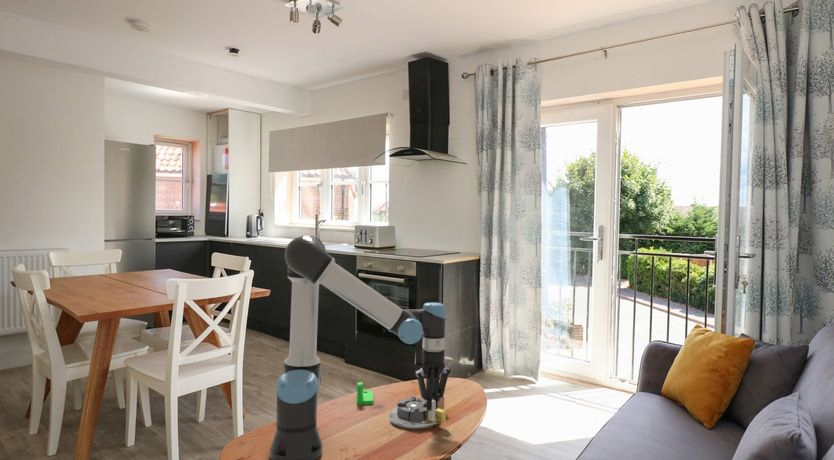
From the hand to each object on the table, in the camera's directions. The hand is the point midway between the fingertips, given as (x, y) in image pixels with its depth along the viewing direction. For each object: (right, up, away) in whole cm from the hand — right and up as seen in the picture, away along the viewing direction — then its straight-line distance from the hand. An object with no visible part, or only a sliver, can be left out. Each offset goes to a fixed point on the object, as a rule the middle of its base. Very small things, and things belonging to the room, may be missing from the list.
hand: (431, 419), depth 163 cm
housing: (-4, -3, +8) cm, 10 cm away
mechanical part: (-25, -3, +26) cm, 36 cm away
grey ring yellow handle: (-3, -1, +6) cm, 7 cm away
